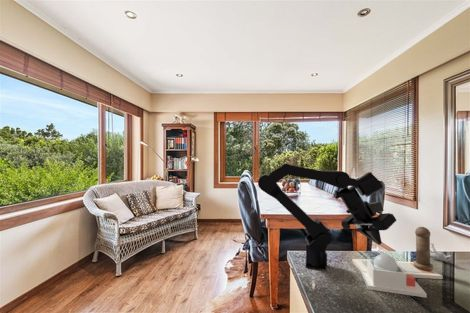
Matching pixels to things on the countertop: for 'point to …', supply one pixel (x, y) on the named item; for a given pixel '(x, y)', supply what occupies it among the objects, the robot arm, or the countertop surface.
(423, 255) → the pawn
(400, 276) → the base
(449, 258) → the soldier figure
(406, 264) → the game track
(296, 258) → the countertop surface
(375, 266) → the dome
